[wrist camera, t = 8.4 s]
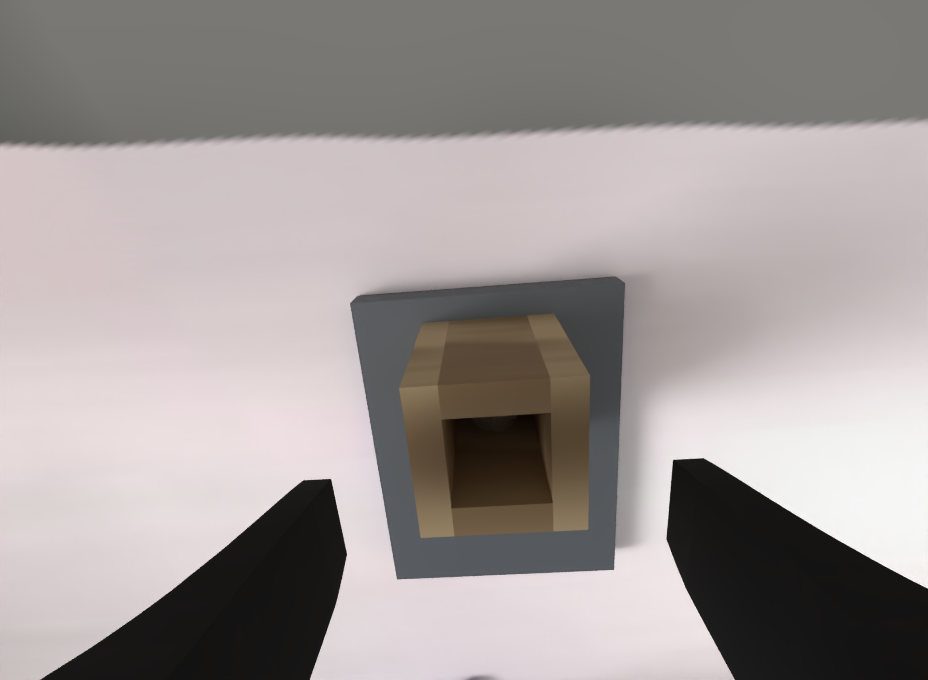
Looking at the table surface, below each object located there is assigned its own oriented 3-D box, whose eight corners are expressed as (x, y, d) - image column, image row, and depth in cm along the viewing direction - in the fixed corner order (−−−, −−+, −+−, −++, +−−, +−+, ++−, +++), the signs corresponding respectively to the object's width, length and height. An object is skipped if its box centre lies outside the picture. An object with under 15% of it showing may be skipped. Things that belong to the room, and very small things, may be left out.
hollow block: (556, 429, 17) (588, 529, 12) (435, 436, 17) (420, 538, 12) (554, 313, 15) (589, 375, 10) (422, 323, 15) (399, 387, 11)
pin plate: (607, 550, 20) (613, 569, 19) (400, 560, 20) (397, 579, 19) (615, 276, 16) (624, 283, 15) (357, 296, 16) (350, 303, 15)
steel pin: (519, 380, 16) (527, 415, 14) (487, 402, 16) (489, 440, 14) (494, 350, 16) (498, 381, 13) (463, 373, 16) (460, 407, 14)
